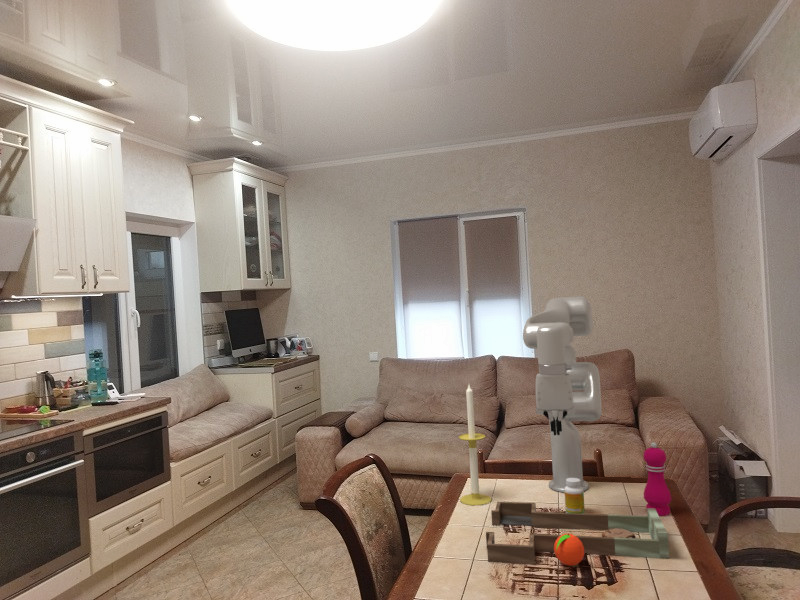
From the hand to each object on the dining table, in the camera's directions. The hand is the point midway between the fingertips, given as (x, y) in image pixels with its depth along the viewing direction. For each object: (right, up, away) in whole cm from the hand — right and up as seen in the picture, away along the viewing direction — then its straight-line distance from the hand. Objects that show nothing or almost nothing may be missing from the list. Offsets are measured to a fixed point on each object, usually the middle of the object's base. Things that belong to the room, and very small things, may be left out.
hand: (556, 433), depth 159 cm
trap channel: (+1, -25, -13) cm, 28 cm away
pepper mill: (+30, -23, +3) cm, 38 cm away
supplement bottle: (+7, -25, +5) cm, 26 cm away
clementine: (-4, -25, -26) cm, 36 cm away
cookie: (+12, -24, -16) cm, 32 cm away
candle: (-20, -26, +21) cm, 39 cm away
